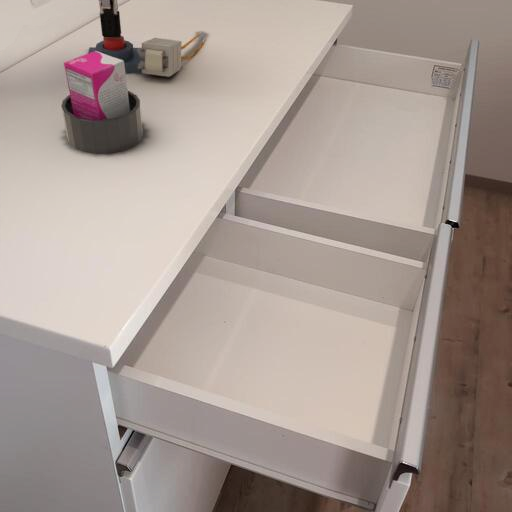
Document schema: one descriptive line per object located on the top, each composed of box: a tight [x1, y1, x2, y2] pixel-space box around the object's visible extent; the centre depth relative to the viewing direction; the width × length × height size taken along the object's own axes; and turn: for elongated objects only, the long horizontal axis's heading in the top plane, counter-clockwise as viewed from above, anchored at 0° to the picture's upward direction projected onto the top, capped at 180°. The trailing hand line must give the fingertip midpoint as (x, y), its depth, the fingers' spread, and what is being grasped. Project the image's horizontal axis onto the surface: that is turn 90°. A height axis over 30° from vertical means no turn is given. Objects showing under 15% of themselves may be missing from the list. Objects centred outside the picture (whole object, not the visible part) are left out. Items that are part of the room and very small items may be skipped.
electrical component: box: [136, 31, 207, 78], centre depth 103 cm, size 24×6×5 cm, turn 168°
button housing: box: [87, 39, 143, 74], centre depth 100 cm, size 10×8×4 cm
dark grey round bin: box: [61, 90, 144, 155], centre depth 78 cm, size 11×11×6 cm
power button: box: [102, 35, 125, 50], centre depth 98 cm, size 4×4×2 cm
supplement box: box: [63, 51, 130, 120], centre depth 76 cm, size 6×6×12 cm
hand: (111, 35), depth 97 cm, fingers closed
